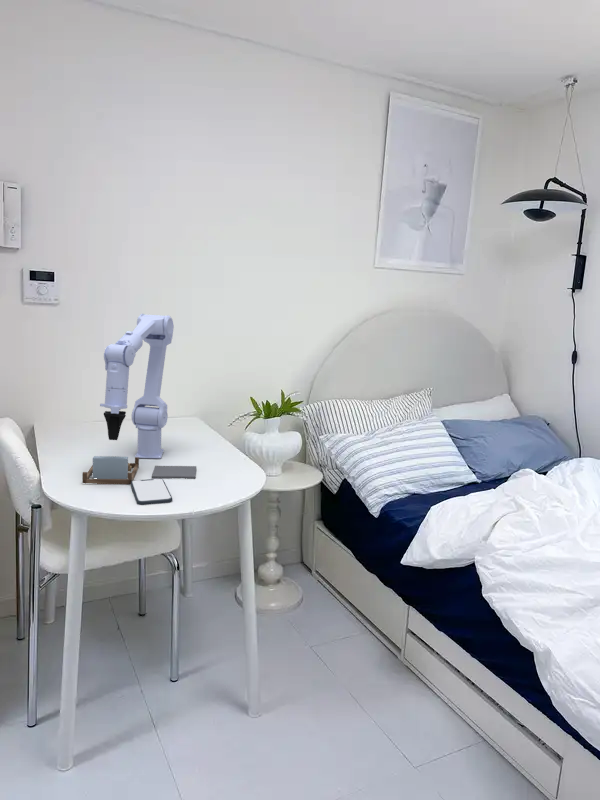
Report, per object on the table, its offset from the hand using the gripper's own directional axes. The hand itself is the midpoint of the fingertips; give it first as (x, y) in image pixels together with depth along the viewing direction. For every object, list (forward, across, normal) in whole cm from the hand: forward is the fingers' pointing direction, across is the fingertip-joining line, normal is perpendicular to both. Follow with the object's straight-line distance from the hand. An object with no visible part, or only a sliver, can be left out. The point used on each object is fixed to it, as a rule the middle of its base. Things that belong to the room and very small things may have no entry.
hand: (113, 438), depth 160 cm
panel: (+11, -2, 0) cm, 11 cm away
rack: (+11, -4, 0) cm, 12 cm away
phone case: (+13, +12, +10) cm, 20 cm away
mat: (+10, -4, +18) cm, 20 cm away
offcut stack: (+10, -9, +1) cm, 14 cm away
